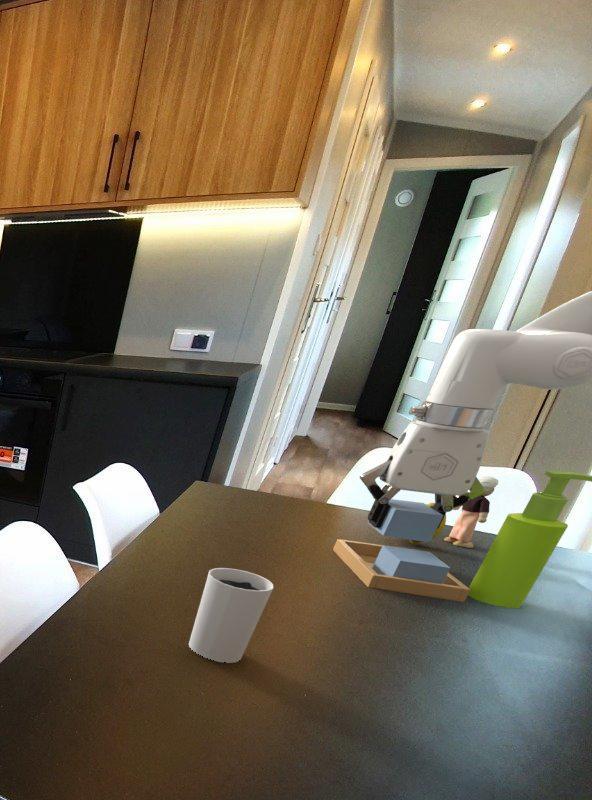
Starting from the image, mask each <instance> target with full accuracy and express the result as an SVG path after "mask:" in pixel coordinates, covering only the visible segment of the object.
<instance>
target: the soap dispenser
mask: <svg viewBox="0 0 592 800" xmlns="http://www.w3.org/2000/svg"><path fill="white" fill-rule="evenodd" d="M544 475H545V476H547V477H548V478H550V479H549V481H548V483H547V484H546V487H545V488H544V490H541V491H537V492H534V493H532V495H531V497H530V498H529V500H528V502H527V504H526V506H525V507H524V509H523V511H522V512H513V513H508V514H507V516H506V517H505V520H504V521H503V523H502V525H501V527H500V528H499V531H498V532H497V533H496V536H495V539H494V540H493V542H492V543H491V546H490V547H489V549H488V551H487V553H486V555H485V557H484V558H483V560H482V562H481V564H480V566H479V567H478V570H477V572H476V573H475V575H474V577H473V579H472V581H471V583H470V584H469V586H468V588H469V589H470V592H469V594H468V595H467V597H469V598H471V599H473V600H476V601H478V602H481V603H483V604H488V605H491V606H495V607H500V608H506V609H520V608H521V607H522V605H523V604H524V602H525V600H526V599H527V597H528V595H529V593H530V592H531V590H532V589H533V587H534V585H535V583H536V581H537V580H538V578H539V576H540V575H541V573H542V571H543V570H544V568H545V566H546V565H547V563H548V561H549V559H550V557H551V556H552V554H553V553H554V551H555V550H556V547H557V546H558V544H559V542H560V541H561V539H562V538H563V535H564V534H565V532H566V530H567V529H568V527H569V525H568V524H567V523H565V522H563V521H561V520H559V517H560V515H561V514H562V512H563V510H564V509H565V506H566V505H567V503H568V501H569V497H566V496H565V494H563V493H564V492H565V489H566V487H567V486H568V484H569V483H570V481H571V480H576V481H587V482H590V483H591V482H592V475H591V474H587V473H582V472H576V471H565V470H546V471H545V473H544Z"/></svg>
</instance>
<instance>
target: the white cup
mask: <svg viewBox="0 0 592 800" xmlns="http://www.w3.org/2000/svg"><path fill="white" fill-rule="evenodd" d="M273 590H274V583H272V582H271V580H269V579H268V578H265V577H264V576H261V575H259V574H256V573H253V572H249V571H246V570H241V569H238V568H228V567H217V568H216V567H215V568H212V569H210V570H208V574H207V578H206V581H205V585H204V588H203V592H202V595H201V599H200V602H199V606H198V608H197V613H196V616H195V620H194V623H193V627H192V631H191V634H190V638H189V641H188V645H189V646H188V647H189V649H190V648H191V649H190V650H191V651H192V650H193V651H192V652H194V653H195V652H196V653H195V654H196V655H198V654H199V655H198V656H200V655H201V656H200V657H202V656H203V658H205V659H207V658H208V659H207V660H210V659H211V660H210V661H213V660H214V662H218V663H224V662H226V663H225V664H233V663H235V664H236V663H238V662H240V661H241V660H242V658H243V655H244V653H245V652H246V649H247V647H248V645H249V642H250V640H251V638H252V636H253V634H254V632H255V630H256V627H257V625H258V623H259V621H260V618H261V616H262V614H263V612H264V610H265V608H266V606H267V604H268V601H269V599H270V597H271V594H272V592H273ZM239 660H240V661H239Z"/></svg>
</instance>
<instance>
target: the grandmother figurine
mask: <svg viewBox="0 0 592 800" xmlns="http://www.w3.org/2000/svg"><path fill="white" fill-rule="evenodd" d="M477 479H478V480H479V482H480V483H481V484H482V486H483V487H484V489H485V491H486V492H485V493H484V494H483V495H481V496H478V497H476V498H474V499H471V500H468V501H467V502H466V503H464V504H462V505H459V506H457V507H455V508H453V510H452V511H458V510H460V508H461V513H460V515H459V516H458V517H457V519H456V520H455V523H454V524H453V526H452V529H451V531H450V533H449V536H447V537H444V538H443V541H444V542H447V543H452V545H453V546H457V547H461V548H468V549H473V548H474V544H473V542H471V540H472V539H473V535H474V533H475V529H476V527H477V523H481V524H484V523H486V522H487V521H488V520H487V519H488V516H489V513H490V505H491V501H490V500H489V499H488V498H487V497H488V496H490V495H492V494H493V493H494V492H495V488H496V487H497V486H499V480H498V479H497V478H495V477H493V476H483V477H481V478H477Z"/></svg>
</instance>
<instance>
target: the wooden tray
mask: <svg viewBox="0 0 592 800" xmlns="http://www.w3.org/2000/svg"><path fill="white" fill-rule="evenodd" d="M382 546H385V545H383V544H377V543H369V542H362V541H355V540H347V539H340V538H337V539H336V541H335V544H334V545H333V549H332V551H333V552H334V553H335V554H336V555H337V556H338V557H339V558H340V559H341V560H342V561H343V562H344V564H346V565H347V567H348V568H349V569H350V570H351V571H352V572H353V573H354V574H355V575H356V576H357V578H359V580H360V581H362V583H363V584H364V585H366V587H367V588H371V589H378V590H385V591H391V592H396V593H403V594H410V595H415V596H416V595H417V596H422V597H429V598H436V599H441V600H442V599H443V600H449V601H455V602H460V603H465V602H466V599H467V598H468V594H469V592H470V589H469V586H467V585H465V584H464V583H463V582H462V581H460V580H459V579H457V578H456V577H455V576H454V575H453V574H451V573H449V572H448V574H447V576H446V578H445V579H444V581H443V583H442V584H439V583H433V582H426V581H419V580H413V579H406V578H399V577H393V576H386V575H379V574H377V573H376V572H375V571H374V570H373V569H372V568H373V565H374V563H375V561H376V559H377V557H378V555H379V552H380V550H381V548H382ZM389 546H390V545H389ZM390 547H393V545H391V546H390ZM396 547H397V548H400V547H399V546H396ZM404 548H405V549H407V548H406V547H404ZM411 549H412V550H414V549H413V548H411ZM418 550H419V551H421V550H420V549H418Z"/></svg>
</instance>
